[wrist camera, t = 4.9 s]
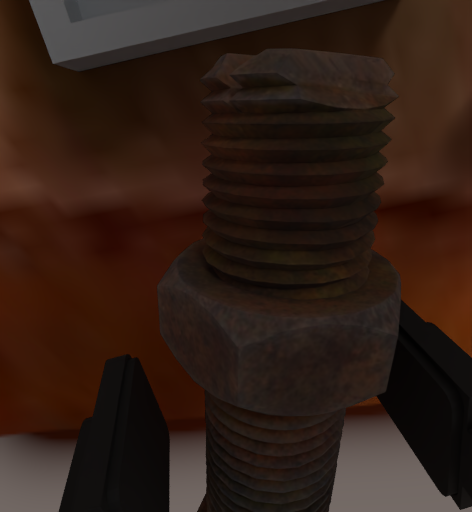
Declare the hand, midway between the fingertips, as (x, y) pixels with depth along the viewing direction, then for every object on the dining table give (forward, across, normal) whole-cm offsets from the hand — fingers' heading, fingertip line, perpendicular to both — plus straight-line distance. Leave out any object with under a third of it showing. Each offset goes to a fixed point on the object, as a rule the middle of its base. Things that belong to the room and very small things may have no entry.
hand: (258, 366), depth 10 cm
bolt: (+1, 0, 0) cm, 1 cm away
